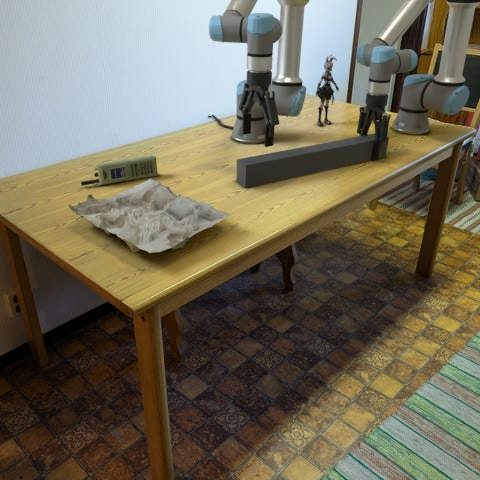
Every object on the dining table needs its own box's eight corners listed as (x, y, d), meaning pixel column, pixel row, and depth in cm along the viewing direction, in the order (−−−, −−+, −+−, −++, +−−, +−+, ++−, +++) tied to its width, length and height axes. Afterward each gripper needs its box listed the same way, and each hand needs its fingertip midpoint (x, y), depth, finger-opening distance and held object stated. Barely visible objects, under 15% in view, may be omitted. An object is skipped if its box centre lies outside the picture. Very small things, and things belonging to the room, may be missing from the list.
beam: (245, 187, 163) (245, 165, 159) (236, 181, 167) (236, 159, 164) (385, 157, 189) (389, 137, 185) (374, 152, 194) (377, 132, 190)
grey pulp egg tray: (148, 192, 160) (63, 221, 139) (147, 174, 157) (60, 201, 136) (236, 233, 139) (152, 274, 118) (238, 213, 136) (151, 251, 115)
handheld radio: (158, 176, 170) (83, 189, 160) (155, 173, 172) (80, 186, 162) (156, 157, 167) (79, 169, 157) (153, 154, 169) (77, 166, 159)
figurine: (317, 128, 219) (323, 55, 204) (306, 125, 223) (312, 53, 208) (338, 122, 227) (346, 52, 213) (327, 119, 231) (334, 50, 217)
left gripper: (293, 77, 142) (289, 149, 153) (249, 62, 161) (247, 127, 172) (271, 79, 139) (268, 153, 149) (228, 64, 158) (228, 130, 168)
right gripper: (405, 98, 172) (394, 162, 183) (367, 86, 186) (359, 147, 197) (388, 100, 168) (378, 166, 180) (351, 88, 183) (344, 150, 194)
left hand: (257, 139), depth 161 cm, fingers open, 13 cm apart
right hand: (368, 156), depth 188 cm, fingers closed on beam, 6 cm apart
